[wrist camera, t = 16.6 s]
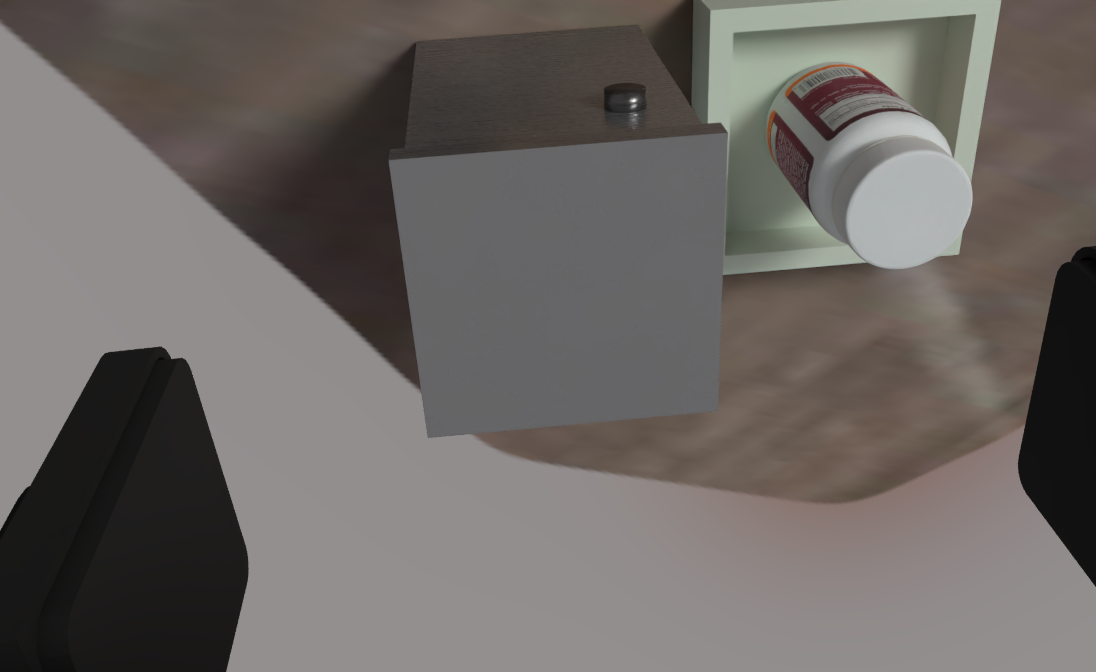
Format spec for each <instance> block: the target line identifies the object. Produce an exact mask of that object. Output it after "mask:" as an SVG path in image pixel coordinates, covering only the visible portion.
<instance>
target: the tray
mask: <svg viewBox="0 0 1096 672" xmlns="http://www.w3.org/2000/svg"><path fill="white" fill-rule="evenodd" d="M1000 5H1001V0H693V46H692V103H691V107H692V109H693V110H694V112H695V113H696V115H697V116H698V118H699V119H700V121H701V123H702V124H707V123H720V122H721V123H722V125H723V126H724V128H725V129H726V131H727V132H728V147H727V174H726V201H725V228H724V256H723V275H729V274H740V273H752V272H763V271H775V270H786V269H797V268H809V267H820V266H832V265H843V264H855V263H866V261H864V260H863V259H861V258H860V257H859V256H858V255H857V254H856V253H855V252H854V251H853V250H852V249H851V248H850V246H849V245H848V244H845V243H843V242H841V241H839V240H837V239H835V238H834V237H832V236H831V235H830V234H828V233H827V232H826V231H825V230H824V229H823V228H822V227H821V226H820V225H819V223H818V222H817V221H816V220H815V218H814V216H813V215H812V213H811V212H810V210H809V209H808V208H807V206H806V205H805V203H804V202H803V201H802V200H801V198H800V196H799V195H798V194H797V193H796V191H795V190H794V188H793V187H792V186H791V184H790V183H789V181H788V180H787V179H786V177H785V176H784V175H783V173H782V172H781V171H780V169H779V168H778V166H777V165H776V163H775V162H774V160H773V159H772V157H771V155H770V153H769V150H768V147H767V142H766V133H765V131H766V120H767V116H768V112H769V109H770V107H771V105H772V103H773V101H774V99H775V98H776V96H777V95H778V93H779V92H780V91H781V89H782V88H783V87H784V86H785V85H786V84H787V83H788V82H789V81H790V80H791V79H792V78H793V77H795V76H796V75H797V74H799V73H800V72H802V71H803V70H806V69H807V68H810V67H812V66H815V65H818V64H821V63H826V62H847V63H853V64H856V65H858V66H860V67H863V68H864V69H866V70H868V71H869V72H871V73H872V74H873V75H875V76H876V77H877V78H878V79H879V80H880V81H882V82H883V83H884V84H886V85H887V86H888V87H889V88H890V89H892V90H893V91H894V92H895V93H896V94H898V95H899V96H900V97H901V98H902V99H903V100H905V101H906V102H907V103H908V104H910V105H911V106H912V107H913V108H914V109H915V110H917V111H918V112H919V113H920V114H922V115H923V116H924V117H925V118H926V119H927V120H929V121H930V122H931V123H933V124H934V125H935V126H936V127H937V129H938V130H939V131H940V132H941V133H942V135H943V136H944V137H945V138H946V140H947V143H948V145H949V148H950V150H951V153H952V157H953V158H954V159H955V160H956V161H957V162H958V163H959V164H960V165H961V166H962V167H963V169H964V170H965V172H966V174H967V176H968V177H969V180H970V183H971V178H972V172H973V166H974V160H975V154H976V148H977V142H978V136H979V130H980V124H981V118H982V112H983V106H984V101H985V95H986V89H987V83H988V77H989V71H990V65H991V59H992V53H993V47H994V41H995V35H996V29H997V23H998V17H999V11H1000ZM962 232H963V230H962ZM962 232H961V233H960V235H959V236H958V237H957V239H956V240H955V241H954V242H953V243H952V244H951V245H950V246H949V247H948V248H947V249H946V250H945V251H944V252H942V253H941V254H940V255H938V256H947V255H958V254H959V250H960V244H961V238H962Z"/></svg>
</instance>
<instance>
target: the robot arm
mask: <svg viewBox="0 0 1096 672" xmlns="http://www.w3.org/2000/svg"><path fill="white" fill-rule="evenodd" d="M1018 471H1019V477H1020V481H1021V484H1022V486H1023V489H1024V490H1025V492H1026V494H1027V495H1028V496H1029V498H1030V499H1031V500H1032V502H1033V503H1034V504H1035V506H1036V507H1037V509H1038V510H1039V511H1040V513H1041V514H1042V515H1043V517H1044V518H1045V519H1046V521H1047V522H1048V523H1049V525H1050V526H1051V527H1052V529H1053V530H1054V531H1055V533H1056V534H1057V535H1058V537H1059V538H1060V539H1061V541H1062V542H1063V544H1064V545H1065V546H1066V547H1067V549H1068V550H1069V552H1070V553H1071V554H1072V556H1073V557H1074V558H1075V560H1076V561H1077V562H1078V564H1079V565H1080V566H1081V568H1082V569H1083V570H1084V572H1085V573H1086V574H1087V576H1088V577H1089V578H1090V580H1091V581H1092V582H1093V584H1094V585H1095V586H1096V246H1091V247H1083V248H1081V249H1080V250H1078V251H1077V252H1076V253H1075V255H1074V256H1073V258H1072V260H1071V262H1066V263H1064V264H1063V265H1061V267H1060V268H1059V270H1058V272H1057V275H1056V278H1055V283H1054V288H1053V293H1052V298H1051V303H1050V308H1049V313H1048V317H1047V322H1046V327H1045V332H1044V337H1043V342H1042V347H1041V351H1040V356H1039V361H1038V366H1037V371H1036V376H1035V381H1034V385H1033V390H1032V395H1031V400H1030V405H1029V410H1028V415H1027V419H1026V424H1025V429H1024V434H1023V439H1022V444H1021V449H1020V454H1019V459H1018ZM247 581H248V556H247V550H246V545H245V542H244V539H243V536H242V533H241V529H240V526H239V523H238V520H237V517H236V513H235V510H234V507H233V504H232V500H231V497H230V494H229V491H228V488H227V485H226V481H225V478H224V475H223V472H222V469H221V465H220V462H219V459H218V455H217V453H216V449H215V446H214V442H213V439H212V437H211V433H210V430H209V426H208V423H207V420H206V417H205V414H204V410H203V407H202V404H201V401H200V398H199V394H198V391H197V388H196V385H195V381H194V378H193V375H192V372H191V369H190V367H189V365H188V363H187V361H186V360H185V359H183V358H178V359H171V357H170V355H169V354H168V352H167V351H166V349H164V348H162V347H153V348H144V349H134V350H125V351H116V352H108V353H105V354H104V355H103V356H102V357H101V359H100V361H99V363H98V364H97V366H96V368H95V370H94V372H93V373H92V375H91V377H90V379H89V381H88V382H87V384H86V386H85V388H84V390H83V392H82V393H81V395H80V397H79V399H78V401H77V402H76V404H75V406H74V408H73V410H72V411H71V413H70V415H69V417H68V419H67V420H66V422H65V424H64V426H63V428H62V430H61V431H60V433H59V435H58V437H57V438H56V440H55V442H54V444H53V446H52V448H51V450H50V451H49V453H48V455H47V457H46V459H45V461H44V462H43V464H42V466H41V468H40V469H39V471H38V473H37V475H36V477H35V478H34V480H33V482H32V484H31V486H29V487H27V488H26V489H25V490H24V492H23V493H22V494H21V496H20V497H19V498H18V500H17V502H16V504H15V505H14V507H13V509H12V510H11V512H10V514H9V516H8V518H7V520H6V521H5V523H4V525H3V527H2V528H1V530H0V672H226V670H227V666H228V661H229V657H230V653H231V649H232V645H233V640H234V636H235V632H236V627H237V624H238V619H239V615H240V611H241V607H242V603H243V598H244V594H245V590H246V586H247Z"/></svg>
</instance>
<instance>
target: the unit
mask: <svg viewBox="0 0 1096 672" xmlns="http://www.w3.org/2000/svg"><path fill="white" fill-rule="evenodd" d="M727 147H728V132H727V131H726V129H725V128H724V126H723V125H722V123H721V122H720V123H707V124H702V123H701V121H700V119H699V118H698V116H697V115H696V113H695V112H694V110H693V109H692V107H691V106H690V104H689V103H688V101H687V99H686V98H685V96H684V95H683V93H682V92H681V90H680V89H679V87H678V86H677V84H676V82H675V81H674V79H673V78H672V76H671V75H670V73H669V72H668V70H667V69H666V67H665V65H664V64H663V62H662V61H661V59H660V58H659V56H658V55H657V53H656V52H655V50H654V49H653V47H652V45H651V44H650V42H649V41H648V39H647V38H646V36H645V35H644V33H643V32H642V30H641V28H640V27H639V25H630V26H617V27H604V28H591V29H577V30H564V31H551V32H538V33H525V34H512V35H499V36H486V37H473V38H460V39H447V40H433V41H420V42H416V51H415V60H414V69H413V78H412V87H411V96H410V104H409V113H408V122H407V131H406V140H405V148H398V149H390V154H389V167H390V174H391V181H392V188H393V195H394V202H395V209H396V216H397V224H398V231H399V238H400V245H401V252H402V259H403V266H404V273H405V280H406V287H407V294H408V301H409V308H410V315H411V322H412V329H413V336H414V343H415V350H416V357H417V364H418V371H419V378H420V386H421V393H422V400H423V407H424V413H425V420H426V428H427V434H428V438H431V437H442V436H453V435H464V434H475V433H486V432H496V431H507V430H518V429H529V428H539V427H550V426H561V425H572V424H583V423H593V422H604V421H615V420H626V419H636V418H647V417H658V416H669V415H679V414H690V413H701V412H712V411H718V392H719V365H720V338H721V310H722V283H723V256H724V228H725V201H726V174H727Z"/></svg>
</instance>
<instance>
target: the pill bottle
mask: <svg viewBox="0 0 1096 672" xmlns="http://www.w3.org/2000/svg"><path fill="white" fill-rule="evenodd" d="M765 133H766V142H767V147H768V150H769V153H770V155H771V157H772V159H773V160H774V162H775V163H776V165H777V166H778V168H779V169H780V171H781V172H782V173H783V175H784V176H785V177H786V179H787V180H788V181H789V183H790V184H791V186H792V187H793V188H794V190H795V191H796V193H797V194H798V195H799V196H800V198H801V200H802V201H803V202H804V203H805V205H806V206H807V208H808V209H809V210H810V212H811V213H812V215H813V216H814V218H815V220H816V221H817V222H818V223H819V225H820V226H821V227H822V228H823V229H824V230H825V231H826V232H827V233H828V234H830V235H831V236H832V237H834V238H835V239H837V240H839V241H841V242H843V243H845V244H848V245H849V246H850V248H851V249H852V250H853V251H854V252H855V253H856V254H857V255H858V256H859V257H860V258H861V259H863V260H864V261H866V262H868V263H869V264H872V265H874V266H877V267H880V268H885V269H905V268H911V267H915V266H918V265H921V264H923V263H926V262H928V261H930V260H932V259H933V258H935V257H936V256H938V255H940V254H941V253H942V252H944V251H945V250H946V249H947V248H948V247H949V246H950V245H951V244H952V243H953V242H954V241H955V240H956V239H957V237H958V236H959V235H960V233H961V232H962V230H963V229H964V227H965V225H966V223H967V220H968V218H969V215H970V212H971V207H972V187H971V183H970V180H969V177H968V176H967V174H966V172H965V170H964V169H963V167H962V166H961V165H960V164H959V163H958V162H957V161H956V160H955V159H954V158H953V157H952V153H951V150H950V148H949V145H948V143H947V140H946V138H945V137H944V136H943V135H942V133H941V132H940V131H939V130H938V129H937V127H936V126H935V125H934V124H933V123H931V122H930V121H929V120H927V119H926V118H925V117H924V116H923V115H922V114H920V113H919V112H918V111H917V110H915V109H914V108H913V107H912V106H911V105H910V104H908V103H907V102H906V101H905V100H903V99H902V98H901V97H900V96H899V95H898V94H896V93H895V92H894V91H893V90H892V89H890V88H889V87H888V86H887V85H886V84H884V83H883V82H882V81H880V80H879V79H878V78H877V77H876V76H875V75H873V74H872V73H871V72H869V71H868V70H866V69H864V68H863V67H860V66H858V65H856V64H853V63H847V62H826V63H821V64H818V65H815V66H812V67H810V68H807V69H806V70H803V71H802V72H800V73H799V74H797V75H796V76H795V77H793V78H792V79H791V80H790V81H789V82H788V83H787V84H786V85H785V86H784V87H783V88H782V89H781V91H780V92H779V93H778V95H777V96H776V98H775V99H774V101H773V103H772V105H771V107H770V109H769V112H768V116H767V120H766V131H765Z"/></svg>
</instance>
